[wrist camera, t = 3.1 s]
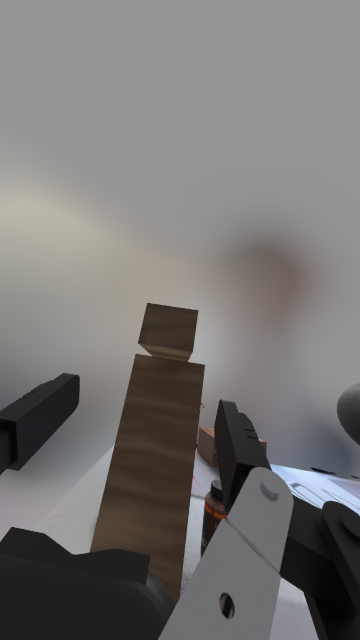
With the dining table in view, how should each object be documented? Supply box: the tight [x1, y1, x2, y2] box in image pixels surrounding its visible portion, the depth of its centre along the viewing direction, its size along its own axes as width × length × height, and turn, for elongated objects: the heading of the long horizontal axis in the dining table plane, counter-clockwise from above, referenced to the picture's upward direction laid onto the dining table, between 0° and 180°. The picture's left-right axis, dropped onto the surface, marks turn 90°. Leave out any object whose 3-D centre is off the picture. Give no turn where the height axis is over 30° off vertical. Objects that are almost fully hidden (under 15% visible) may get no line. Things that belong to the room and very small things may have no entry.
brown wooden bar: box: [138, 303, 198, 362], centre depth 29 cm, size 26×5×4 cm, turn 1°
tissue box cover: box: [197, 427, 266, 466], centre depth 81 cm, size 26×14×10 cm, turn 108°
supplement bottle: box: [201, 480, 229, 558], centre depth 34 cm, size 6×6×11 cm
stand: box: [90, 354, 205, 604], centre depth 27 cm, size 14×10×32 cm
